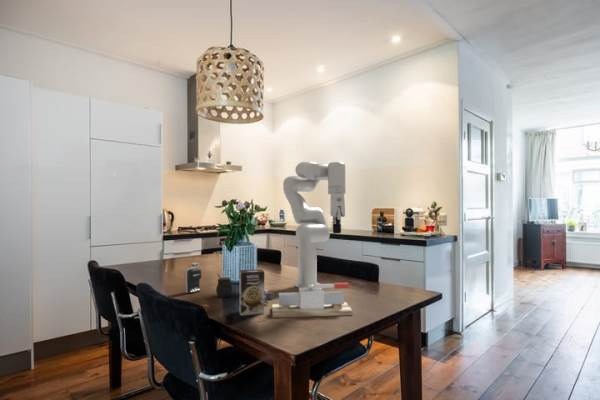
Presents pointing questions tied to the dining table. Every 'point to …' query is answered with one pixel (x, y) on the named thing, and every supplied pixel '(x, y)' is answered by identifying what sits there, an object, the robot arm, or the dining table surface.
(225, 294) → the mate gourd
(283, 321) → the dining table surface
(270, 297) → the walkie-talkie
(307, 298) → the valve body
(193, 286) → the battery charger
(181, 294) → the dining table surface
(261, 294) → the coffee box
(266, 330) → the dining table surface
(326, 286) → the lever
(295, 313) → the valve board
